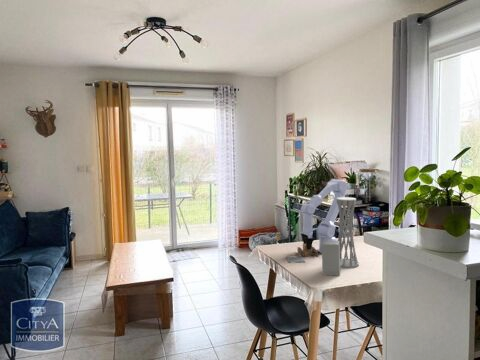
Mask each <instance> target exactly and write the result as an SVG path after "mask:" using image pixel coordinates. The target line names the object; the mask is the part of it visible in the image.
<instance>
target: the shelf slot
mask: <svg viewBox="0 0 480 360" xmlns="http://www.w3.org/2000/svg"><path fill="white" fill-rule="evenodd" d="M318 252H319V251H318V250H317V249H316V248H315V247H314V246H312V256H314V257H316V258H318V255H319V254H318ZM297 254H298V255H299V257H302V258H305V256H304V252H303V248H301V247H300V246H299V247H298V246H297Z"/></svg>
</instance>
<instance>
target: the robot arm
mask: <svg viewBox="0 0 480 360" xmlns="http://www.w3.org/2000/svg"><path fill="white" fill-rule="evenodd" d="M347 189H348V183H347V181H346V180H344V179H335V178H331V179H330V180H329V181H328V182H327V184H326V186H325V187H324V188H323V189H322V190H320V192H318V194H313V195H312V197H311V198H310V199H309V200H308V201H306V203H303V204H302V205H301V207H300V212H301V214H302V231H300V232H299V233H300V236H301V238H302V242H303V243H302V244H304V243H306V247H307V250H308V249H311V247H313V243H314V240H315V237H314V236H313V233H314V232H313V225H314V224H313V221H314V219H313V216H314V213H315V211H316V209H317V207H319V206H320V205H321V203H323V199H324V198H325V197H326V196H328V195H329V194H330V193H331V192H332V193H333V194H334V197H333V198H334V199H333V200H332V202H331V205H330V207H329V210H328V212H327V214H326V217H325V218H324V219H323V220H322V221H321V222H320V224H318V226H317V228H316V233H317V234H318V237H319V241H318V242H319V246H318V248H317V249H316V250H317V251H318V252H319V253H320V254H322V242H323V241H337V239H336V236H335V230H336V227H337V226H336V225H335V222H336V219H337V217H338V214H339V209H338V204H337V198H340V197H346V192H347Z"/></svg>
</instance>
